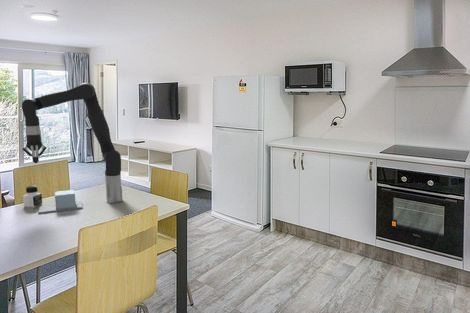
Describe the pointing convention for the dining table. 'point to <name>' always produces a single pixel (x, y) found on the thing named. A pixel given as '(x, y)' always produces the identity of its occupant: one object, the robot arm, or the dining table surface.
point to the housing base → (53, 209)
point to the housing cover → (65, 199)
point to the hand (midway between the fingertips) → (36, 162)
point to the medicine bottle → (32, 197)
